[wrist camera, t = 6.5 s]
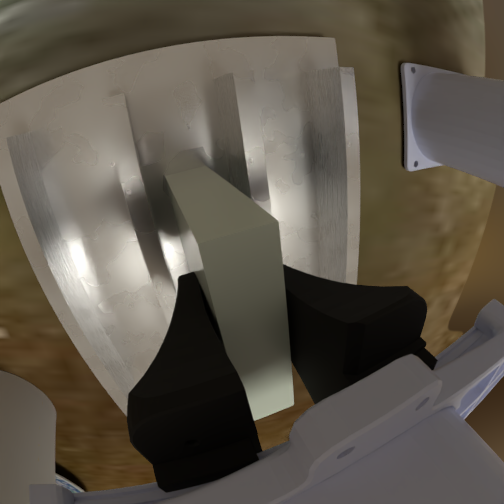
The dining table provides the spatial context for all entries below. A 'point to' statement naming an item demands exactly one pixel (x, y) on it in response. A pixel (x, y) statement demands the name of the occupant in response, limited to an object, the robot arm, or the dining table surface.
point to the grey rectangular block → (238, 281)
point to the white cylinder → (24, 439)
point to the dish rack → (170, 162)
